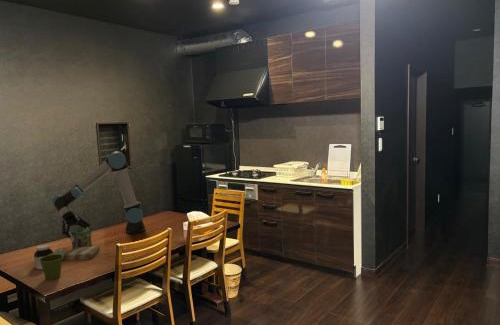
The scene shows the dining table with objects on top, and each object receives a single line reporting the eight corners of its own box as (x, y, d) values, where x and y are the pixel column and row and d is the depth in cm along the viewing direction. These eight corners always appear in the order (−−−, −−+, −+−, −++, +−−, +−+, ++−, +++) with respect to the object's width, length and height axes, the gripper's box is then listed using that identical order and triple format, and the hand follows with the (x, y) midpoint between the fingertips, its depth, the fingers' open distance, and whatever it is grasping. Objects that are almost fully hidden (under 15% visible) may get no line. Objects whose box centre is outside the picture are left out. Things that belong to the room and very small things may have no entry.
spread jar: (50, 261, 234) (48, 243, 233) (58, 265, 227) (57, 246, 226) (29, 267, 225) (27, 248, 224) (37, 271, 218) (35, 252, 216)
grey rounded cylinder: (68, 256, 241) (67, 247, 241) (64, 260, 235) (63, 250, 235) (58, 257, 241) (57, 248, 240) (54, 260, 235) (53, 251, 234)
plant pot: (35, 280, 205) (33, 260, 203) (54, 272, 216) (52, 253, 214) (51, 283, 200) (50, 262, 199) (69, 274, 211) (68, 255, 210)
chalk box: (84, 250, 253) (82, 228, 251) (71, 250, 255) (70, 228, 253) (92, 246, 262) (90, 225, 260) (80, 245, 264) (78, 224, 262)
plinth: (99, 250, 252) (99, 245, 251) (91, 258, 236) (91, 253, 235) (74, 252, 250) (74, 247, 250) (65, 260, 234) (64, 255, 234)
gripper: (80, 213, 275) (95, 236, 269) (47, 222, 254) (63, 246, 248) (85, 207, 272) (100, 230, 266) (51, 215, 251) (67, 239, 244)
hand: (82, 238), depth 257 cm, fingers open, 13 cm apart
